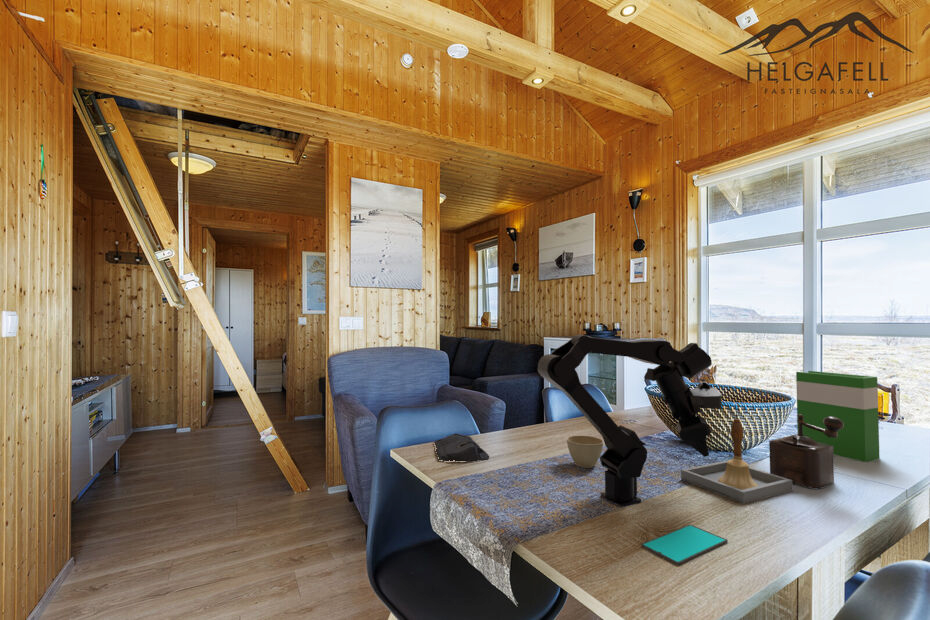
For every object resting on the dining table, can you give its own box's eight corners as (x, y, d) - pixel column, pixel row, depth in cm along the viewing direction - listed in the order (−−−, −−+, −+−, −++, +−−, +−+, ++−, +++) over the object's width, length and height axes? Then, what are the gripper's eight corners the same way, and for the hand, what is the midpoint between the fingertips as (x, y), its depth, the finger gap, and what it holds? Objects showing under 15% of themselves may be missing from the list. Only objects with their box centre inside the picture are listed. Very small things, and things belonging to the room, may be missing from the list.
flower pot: (605, 472, 116) (605, 445, 116) (567, 469, 118) (567, 443, 118) (601, 460, 125) (601, 435, 126) (566, 458, 127) (566, 434, 128)
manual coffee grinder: (766, 477, 112) (765, 407, 112) (788, 470, 117) (786, 403, 118) (841, 498, 98) (839, 419, 99) (861, 489, 104) (859, 414, 104)
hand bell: (766, 491, 101) (765, 423, 101) (729, 491, 101) (728, 422, 102) (745, 479, 109) (744, 415, 109) (711, 478, 109) (710, 415, 110)
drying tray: (743, 503, 96) (743, 492, 96) (681, 479, 110) (680, 469, 110) (792, 490, 103) (792, 480, 103) (728, 469, 118) (727, 460, 118)
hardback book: (797, 445, 140) (796, 371, 141) (811, 443, 143) (809, 370, 144) (865, 462, 124) (863, 378, 124) (879, 458, 127) (877, 376, 127)
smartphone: (728, 540, 79) (678, 563, 71) (728, 544, 79) (678, 568, 71) (689, 524, 85) (640, 543, 78) (689, 528, 85) (640, 548, 78)
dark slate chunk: (475, 441, 147) (475, 427, 147) (491, 462, 125) (491, 446, 125) (430, 444, 144) (430, 430, 144) (439, 466, 122) (439, 449, 123)
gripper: (720, 391, 90) (751, 456, 91) (699, 362, 107) (726, 417, 108) (666, 409, 94) (697, 471, 95) (655, 378, 111) (681, 431, 112)
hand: (702, 445), depth 102 cm, fingers open, 9 cm apart
